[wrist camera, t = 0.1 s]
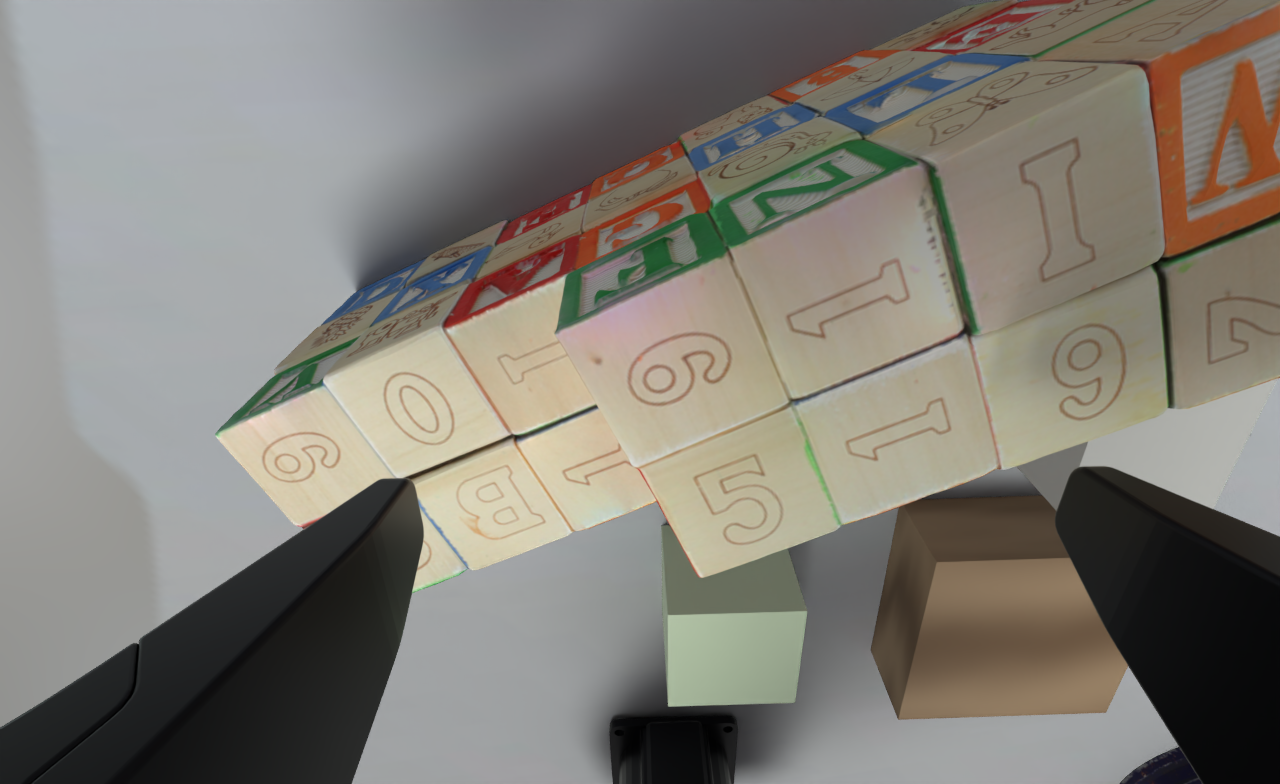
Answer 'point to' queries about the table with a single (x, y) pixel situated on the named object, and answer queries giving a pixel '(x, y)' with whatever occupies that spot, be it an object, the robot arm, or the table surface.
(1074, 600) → the walnut block
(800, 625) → the sage cube
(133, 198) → the table surface
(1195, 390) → the stack of blocks
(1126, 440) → the grey cube
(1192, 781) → the storage jar
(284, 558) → the robot arm
